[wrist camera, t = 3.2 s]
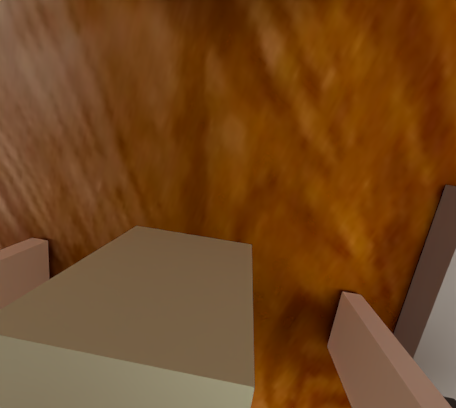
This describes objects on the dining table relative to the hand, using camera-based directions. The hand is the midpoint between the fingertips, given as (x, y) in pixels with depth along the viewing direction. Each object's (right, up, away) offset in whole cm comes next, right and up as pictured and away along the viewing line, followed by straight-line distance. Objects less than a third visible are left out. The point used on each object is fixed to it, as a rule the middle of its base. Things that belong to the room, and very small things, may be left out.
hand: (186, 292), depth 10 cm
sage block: (0, 0, 0) cm, 0 cm away
